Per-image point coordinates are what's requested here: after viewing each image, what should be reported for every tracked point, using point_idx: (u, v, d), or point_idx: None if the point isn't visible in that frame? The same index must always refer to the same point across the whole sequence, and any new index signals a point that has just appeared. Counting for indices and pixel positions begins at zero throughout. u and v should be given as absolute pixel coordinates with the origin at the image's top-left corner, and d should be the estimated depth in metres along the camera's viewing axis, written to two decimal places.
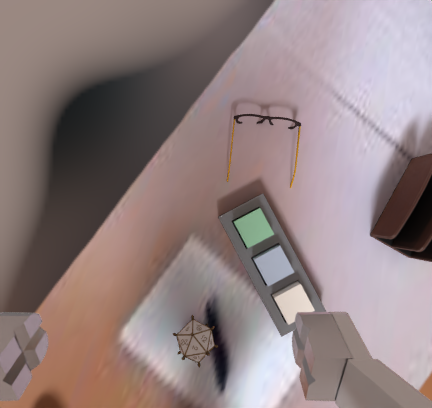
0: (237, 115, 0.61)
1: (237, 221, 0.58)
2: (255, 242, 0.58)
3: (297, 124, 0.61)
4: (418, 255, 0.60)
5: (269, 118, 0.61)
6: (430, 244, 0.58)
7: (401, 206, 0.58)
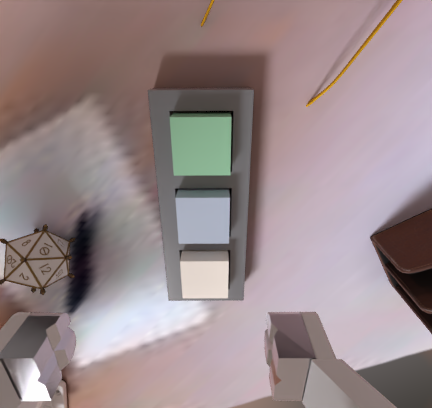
0: None
1: (176, 120, 0.28)
2: (191, 172, 0.30)
3: None
4: (407, 294, 0.40)
5: None
6: None
7: None
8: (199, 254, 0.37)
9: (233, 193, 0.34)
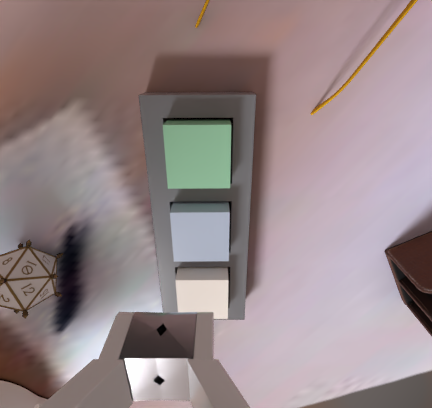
0: None
1: (170, 128, 0.25)
2: (187, 185, 0.28)
3: None
4: (421, 313, 0.37)
5: None
6: None
7: None
8: (196, 272, 0.34)
9: (233, 206, 0.31)
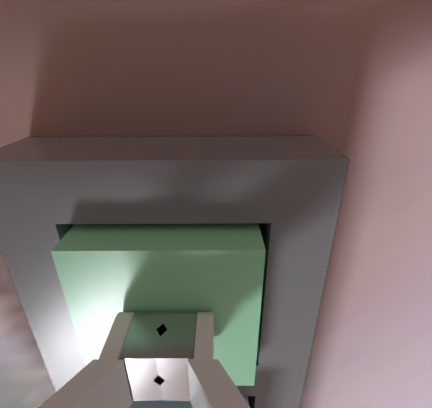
0: None
1: (76, 259, 0.08)
2: None
3: None
4: None
5: None
6: None
7: None
8: None
9: (259, 405, 0.13)
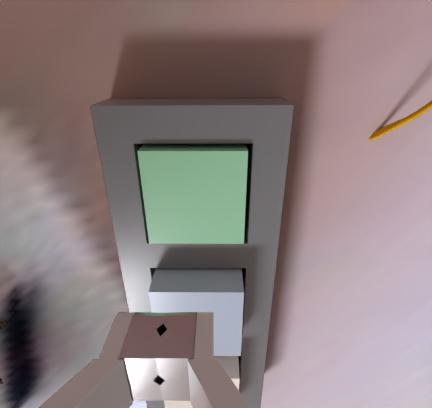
0: None
1: (149, 156, 0.16)
2: (178, 239, 0.18)
3: None
4: None
5: None
6: None
7: None
8: None
9: (249, 275, 0.20)
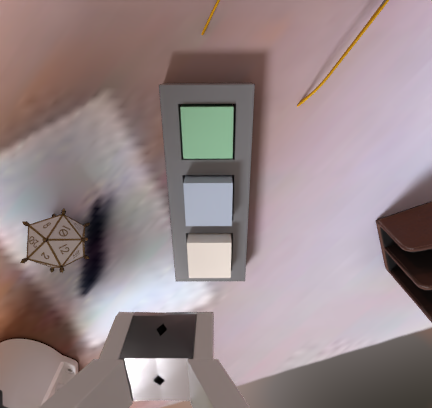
0: None
1: (186, 109, 0.33)
2: (198, 156, 0.35)
3: None
4: (401, 277, 0.43)
5: None
6: None
7: None
8: (204, 237, 0.40)
9: (235, 179, 0.37)
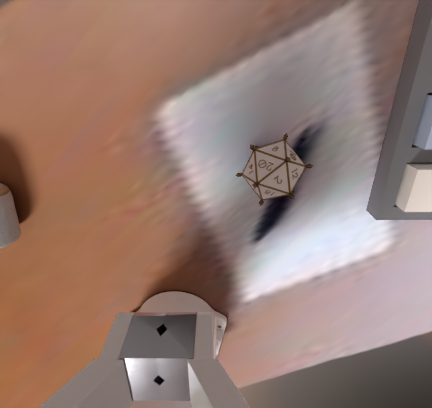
0: None
1: None
2: None
3: None
4: None
5: None
6: None
7: None
8: (429, 166, 0.38)
9: None
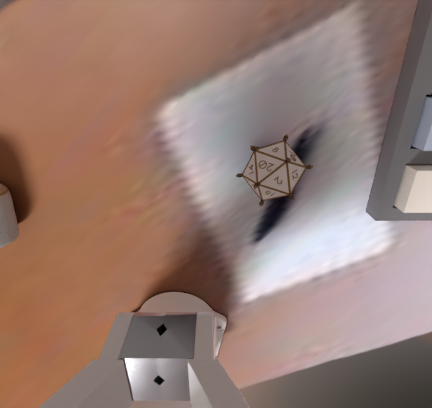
0: None
1: None
2: None
3: None
4: None
5: None
6: None
7: None
8: (427, 167, 0.38)
9: None
